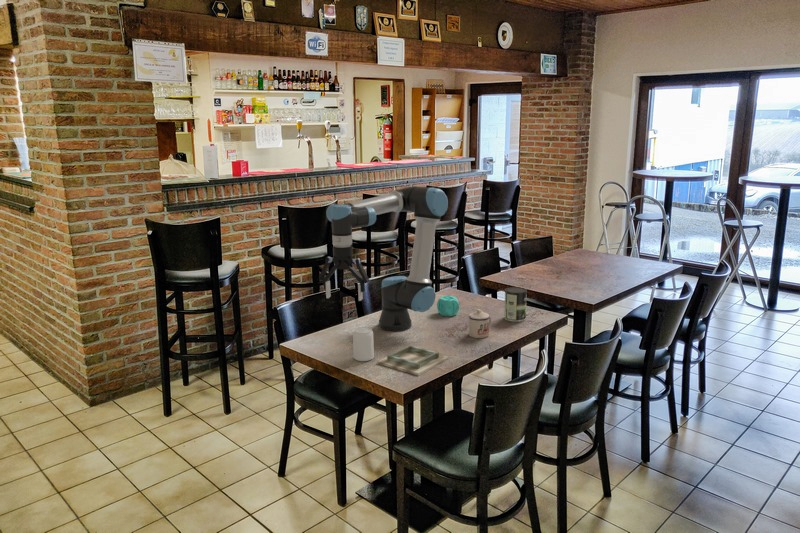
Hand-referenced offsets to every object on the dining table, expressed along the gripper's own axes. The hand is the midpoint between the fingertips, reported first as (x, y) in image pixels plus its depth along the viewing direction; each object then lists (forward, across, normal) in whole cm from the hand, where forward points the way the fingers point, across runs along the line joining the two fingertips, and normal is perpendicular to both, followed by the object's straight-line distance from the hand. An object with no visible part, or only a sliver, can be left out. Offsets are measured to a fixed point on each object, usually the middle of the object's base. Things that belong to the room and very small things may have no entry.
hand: (344, 298), depth 239 cm
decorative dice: (+25, +26, +66) cm, 75 cm away
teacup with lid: (+25, +47, +41) cm, 67 cm away
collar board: (+25, +27, +4) cm, 37 cm away
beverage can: (+25, +7, +2) cm, 26 cm away
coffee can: (+25, +59, +67) cm, 92 cm away
